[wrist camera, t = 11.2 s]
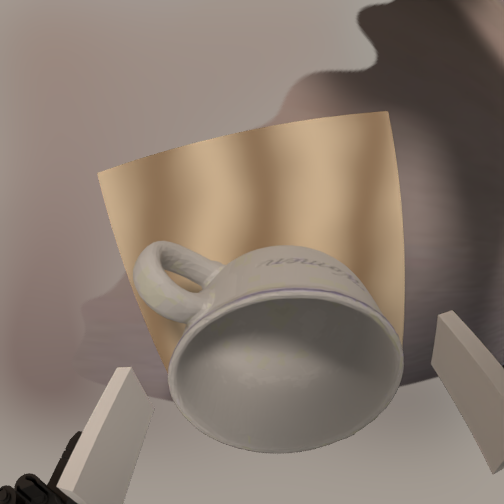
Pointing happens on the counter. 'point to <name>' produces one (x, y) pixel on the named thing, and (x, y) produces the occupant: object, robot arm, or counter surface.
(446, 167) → the counter surface
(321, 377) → the teacup
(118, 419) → the robot arm
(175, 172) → the wooden riser stand
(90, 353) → the counter surface
